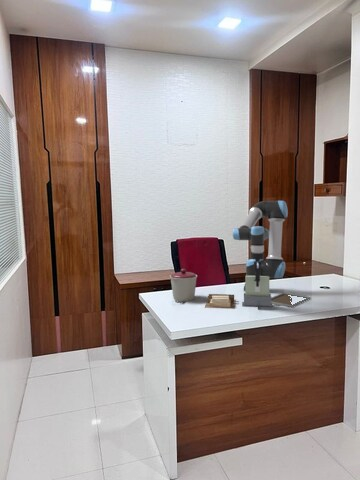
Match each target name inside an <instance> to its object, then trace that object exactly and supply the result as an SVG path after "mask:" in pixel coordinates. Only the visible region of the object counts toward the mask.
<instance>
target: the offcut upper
mask: <svg viewBox="0 0 360 480" xmlns="http://www.w3.org/2000/svg"><path fill="white" fill-rule="evenodd" d="M212 303H229V296H212Z"/></svg>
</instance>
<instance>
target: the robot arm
mask: <svg viewBox="0 0 360 480" xmlns="http://www.w3.org/2000/svg"><path fill="white" fill-rule="evenodd" d="M287 205H288V204H287V202H286V201H284V200H264V201H263V200H262V201H259V202H257V203H255V204H254V205H252V206H251V208H250V209H249V211H248V215H247V216H246V217H245V219H244V220H243V222H242V224H241V225H240V226H239V227H237V228H233V230H232V238H233V240H234V241H235V240H236V241H250V247H249V249H250V251H251V253H250V258H251V259H247V260H246V264H245V265H246V266H245V268H246V269H245V271H246V274H245V276H255V280H254V281H255V292H260V276H269V279H282V278H283V277H284V275H285V271H286V262H285V261H284V258H283V257H282V238H283V223H284V221H286V218H288V217H289V216H288V214H289V212H288V211H289V210H288V206H287ZM261 218H267V220H268V222H269V229H267V228H264V226H262V225H261V226H260V225H259V226H258V225H257V226H256V224H257V222H258V221H259V220H260V219H261ZM267 240H268V255H267V257H266V258H265V260H264V257H265V253H264V252H265V241H267ZM243 292H245V284H244V286H243Z"/></svg>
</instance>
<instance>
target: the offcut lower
mask: <svg viewBox="0 0 360 480" xmlns="http://www.w3.org/2000/svg"><path fill="white" fill-rule="evenodd" d="M230 305H231V300H229V303H212V299H211V301H210V307H230Z"/></svg>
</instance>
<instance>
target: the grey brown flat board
mask: <svg viewBox="0 0 360 480" xmlns="http://www.w3.org/2000/svg"><path fill="white" fill-rule="evenodd" d="M288 295H291V296H297V297H303V298H306V299H304V300H302V301H299V302H297V303H295V304H293V305H292V304H291V302H292V298H291V297H290V296H288ZM290 298H291V299H290ZM310 298H312V297H311V296H307V295H302V294H295V293H289V292H282V293H279V294H277V295H273V296H271V303H272V305H273V307H287V308H290V307H291V308H292V307H293V308H294V306H295V307H297V306H298V304H299V305H300V303H301V304H303V303H305V302H306V300H307V301H309V300H310ZM308 299H309V300H308ZM290 301H291V302H290ZM304 301H305V302H304ZM302 302H303V303H302ZM296 305H297V306H296Z"/></svg>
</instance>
